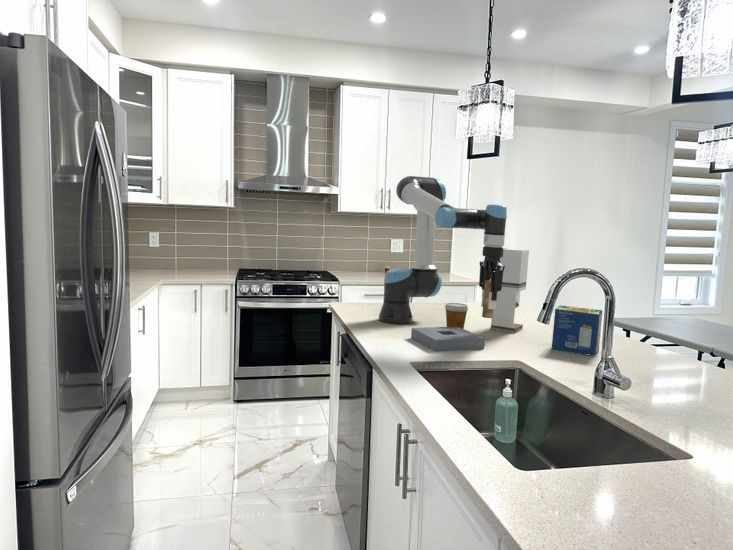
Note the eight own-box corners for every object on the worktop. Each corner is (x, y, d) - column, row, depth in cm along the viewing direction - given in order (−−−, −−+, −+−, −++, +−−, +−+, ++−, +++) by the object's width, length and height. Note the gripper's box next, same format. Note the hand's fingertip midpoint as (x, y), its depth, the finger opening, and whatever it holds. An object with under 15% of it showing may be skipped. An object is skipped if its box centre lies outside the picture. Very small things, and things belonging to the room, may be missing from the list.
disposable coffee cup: (465, 331, 216) (467, 303, 215) (467, 336, 207) (469, 307, 205) (442, 330, 217) (444, 302, 216) (443, 335, 207) (445, 305, 206)
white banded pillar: (515, 333, 217) (522, 250, 214) (490, 329, 223) (496, 248, 219) (522, 329, 227) (529, 249, 223) (498, 325, 233) (504, 248, 229)
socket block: (411, 337, 200) (411, 327, 199) (456, 336, 206) (457, 326, 206) (434, 351, 181) (435, 340, 180) (484, 348, 188) (484, 338, 187)
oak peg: (480, 316, 198) (483, 279, 196) (489, 315, 199) (492, 279, 197) (485, 318, 194) (488, 281, 192) (494, 318, 195) (498, 281, 194)
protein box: (556, 344, 201) (559, 304, 200) (599, 350, 194) (603, 310, 192) (550, 349, 192) (554, 308, 191) (595, 356, 185) (599, 313, 183)
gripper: (472, 244, 200) (467, 303, 203) (497, 247, 184) (492, 312, 187) (489, 244, 202) (484, 303, 205) (515, 248, 187) (509, 312, 189)
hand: (488, 307), depth 196 cm, fingers closed on oak peg, 4 cm apart
